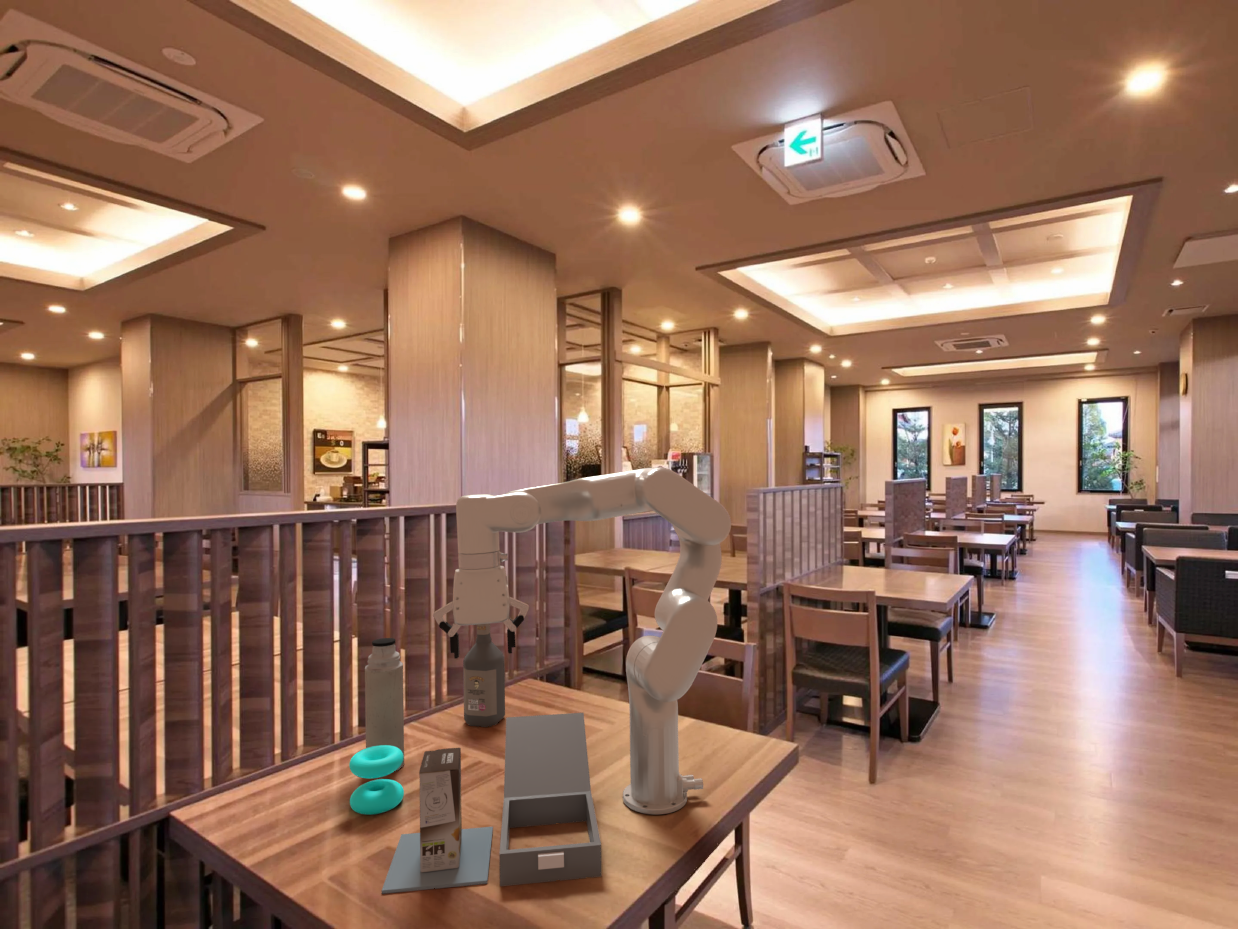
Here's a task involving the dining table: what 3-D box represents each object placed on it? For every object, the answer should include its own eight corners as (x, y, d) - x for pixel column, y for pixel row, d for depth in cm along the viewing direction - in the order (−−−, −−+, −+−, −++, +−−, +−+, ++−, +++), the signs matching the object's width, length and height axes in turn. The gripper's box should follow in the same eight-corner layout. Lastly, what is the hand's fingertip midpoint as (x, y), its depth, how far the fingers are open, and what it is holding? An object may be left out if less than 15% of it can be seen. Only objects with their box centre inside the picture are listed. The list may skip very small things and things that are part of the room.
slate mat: (492, 829, 120) (492, 826, 120) (487, 883, 105) (487, 880, 105) (401, 837, 118) (401, 834, 118) (381, 893, 102) (381, 890, 102)
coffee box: (460, 868, 108) (459, 769, 108) (419, 874, 107) (418, 773, 107) (462, 838, 117) (461, 746, 117) (424, 842, 116) (423, 750, 116)
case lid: (590, 791, 124) (590, 794, 124) (583, 712, 139) (583, 715, 140) (503, 798, 122) (504, 801, 122) (506, 717, 137) (506, 720, 138)
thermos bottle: (373, 759, 151) (371, 635, 151) (408, 758, 151) (407, 634, 151) (360, 775, 143) (359, 644, 143) (398, 774, 143) (396, 644, 143)
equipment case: (591, 818, 124) (590, 791, 124) (602, 879, 105) (601, 847, 105) (504, 825, 122) (503, 798, 122) (499, 889, 103) (499, 857, 103)
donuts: (337, 761, 127) (370, 740, 136) (338, 814, 127) (371, 789, 136) (383, 767, 124) (413, 745, 134) (383, 820, 124) (414, 795, 134)
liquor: (493, 728, 168) (492, 609, 168) (460, 725, 170) (459, 608, 170) (508, 715, 177) (506, 602, 177) (476, 713, 179) (474, 601, 179)
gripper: (526, 555, 128) (530, 644, 128) (433, 562, 125) (437, 653, 125) (527, 561, 120) (531, 655, 120) (428, 567, 118) (433, 664, 118)
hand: (483, 654), depth 123 cm, fingers open, 9 cm apart
